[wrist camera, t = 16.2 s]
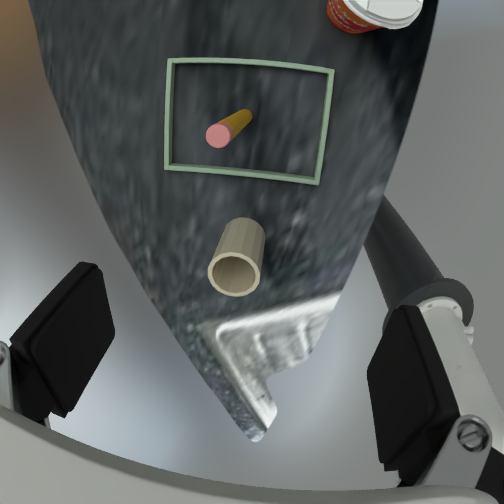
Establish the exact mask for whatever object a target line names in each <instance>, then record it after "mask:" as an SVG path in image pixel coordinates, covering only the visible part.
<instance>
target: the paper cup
mask: <svg viewBox="0 0 504 504" xmlns="http://www.w3.org/2000/svg"><path fill="white" fill-rule="evenodd" d="M422 4H423V0H329V1H328V4H327V14H328V17H329V19H330V21H331V22H332V23H333V24H334V25H335V26H336V27H337V28H338V29H340V30H342V31H344V32H347V33H362V32H366V31H370V30H374V29H378V28H382V27H386V28H389V29H398V28H403V27H406V26H408V25H409V24H410V23H411V22H412V21H413V20H414V19H415V18H416V17H417V16H418V15H419V13H420V11H421V8H422Z"/></svg>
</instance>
